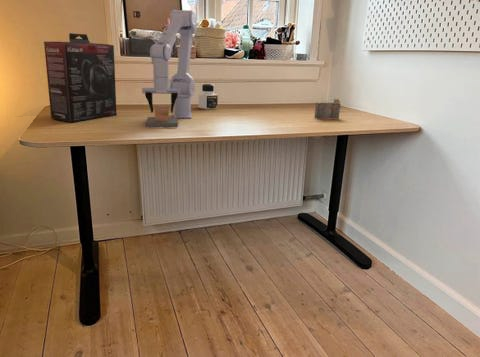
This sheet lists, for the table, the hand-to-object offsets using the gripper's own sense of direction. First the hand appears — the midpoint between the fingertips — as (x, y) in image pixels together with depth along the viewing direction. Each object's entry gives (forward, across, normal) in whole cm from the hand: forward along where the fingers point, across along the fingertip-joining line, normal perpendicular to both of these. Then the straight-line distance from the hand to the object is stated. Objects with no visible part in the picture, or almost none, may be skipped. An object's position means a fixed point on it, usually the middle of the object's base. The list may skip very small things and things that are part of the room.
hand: (162, 112), depth 153 cm
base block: (+6, 0, 0) cm, 6 cm away
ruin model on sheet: (+6, +76, +20) cm, 79 cm away
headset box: (+5, -32, +13) cm, 35 cm away
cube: (+3, 0, 0) cm, 3 cm away
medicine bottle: (+5, +21, +44) cm, 49 cm away
